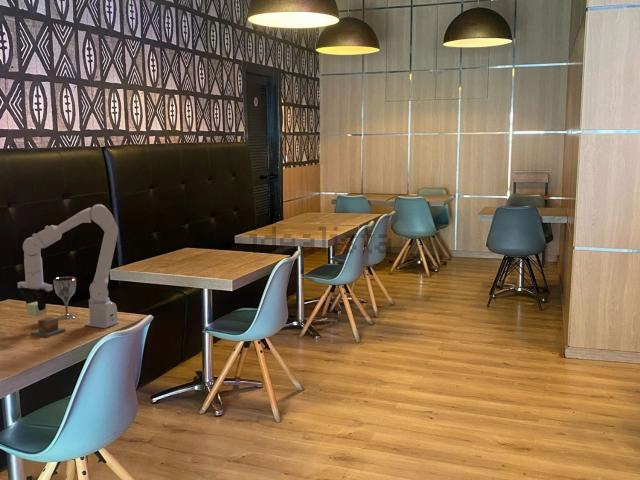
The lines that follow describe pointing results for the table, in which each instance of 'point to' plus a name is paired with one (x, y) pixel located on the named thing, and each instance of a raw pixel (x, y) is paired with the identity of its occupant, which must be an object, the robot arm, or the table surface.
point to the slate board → (45, 334)
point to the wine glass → (65, 292)
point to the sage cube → (34, 309)
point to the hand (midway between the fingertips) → (36, 309)
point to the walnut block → (48, 324)
